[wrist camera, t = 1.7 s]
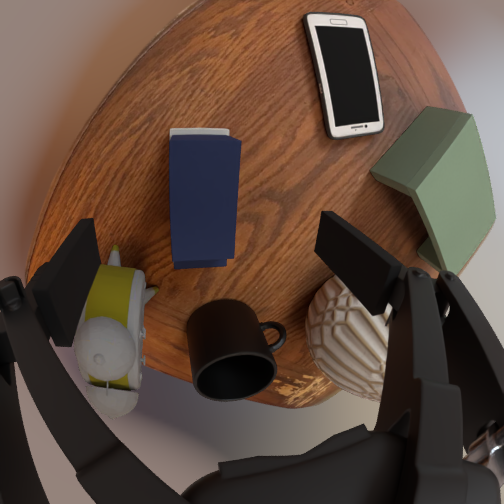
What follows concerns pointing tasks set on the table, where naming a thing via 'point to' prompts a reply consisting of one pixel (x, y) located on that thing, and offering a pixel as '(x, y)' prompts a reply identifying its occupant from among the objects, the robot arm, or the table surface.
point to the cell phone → (345, 74)
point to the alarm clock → (113, 336)
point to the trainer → (203, 196)
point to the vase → (347, 340)
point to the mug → (231, 351)
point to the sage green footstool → (443, 184)
